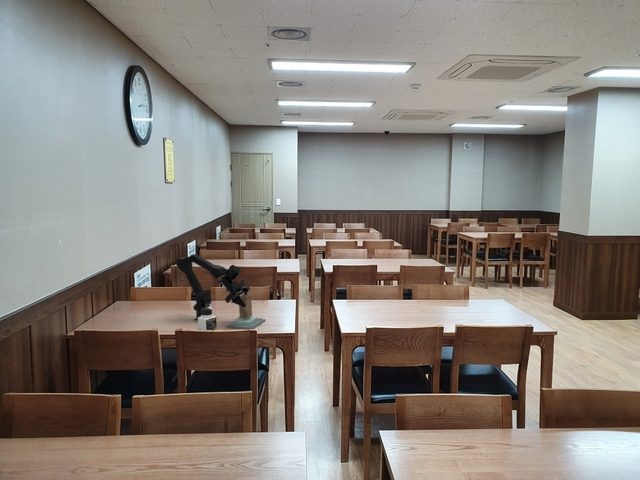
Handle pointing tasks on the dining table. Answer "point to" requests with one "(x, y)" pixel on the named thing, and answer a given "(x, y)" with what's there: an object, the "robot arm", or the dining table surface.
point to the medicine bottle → (207, 319)
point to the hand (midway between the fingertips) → (247, 305)
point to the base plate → (246, 323)
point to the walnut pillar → (247, 310)
